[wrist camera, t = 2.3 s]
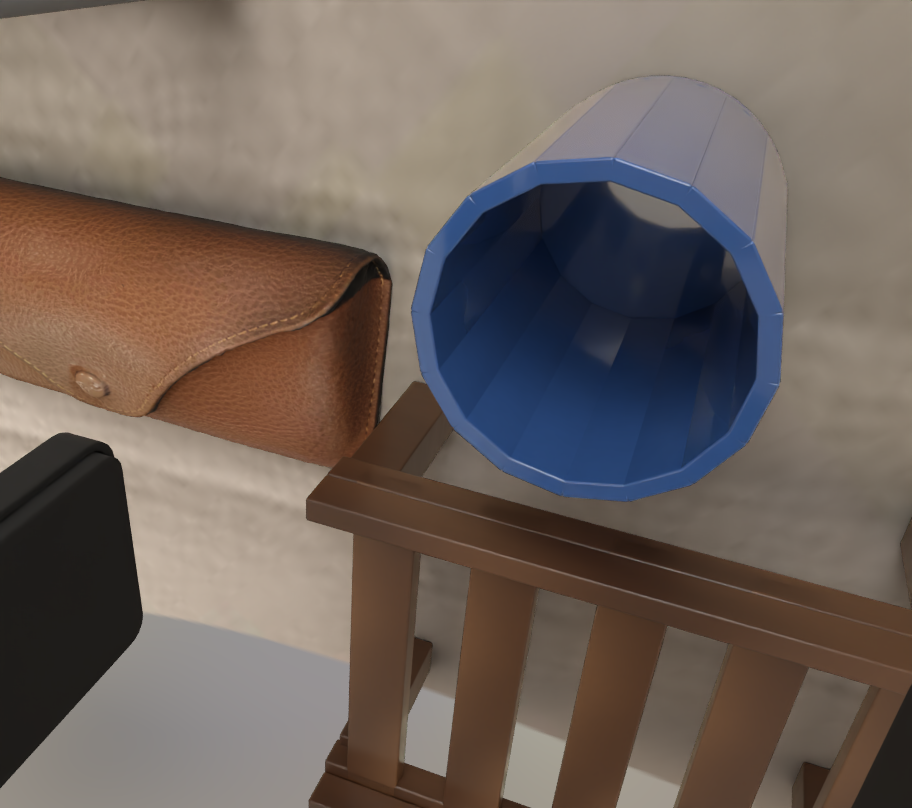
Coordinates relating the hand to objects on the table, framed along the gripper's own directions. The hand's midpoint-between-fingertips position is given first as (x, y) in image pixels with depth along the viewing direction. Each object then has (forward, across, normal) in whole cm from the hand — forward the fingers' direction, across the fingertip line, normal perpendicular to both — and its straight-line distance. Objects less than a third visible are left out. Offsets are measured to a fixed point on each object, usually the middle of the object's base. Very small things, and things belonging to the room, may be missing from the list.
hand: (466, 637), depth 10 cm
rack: (+16, -2, +12) cm, 20 cm away
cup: (+16, 0, -1) cm, 16 cm away
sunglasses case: (+16, +16, +6) cm, 24 cm away
